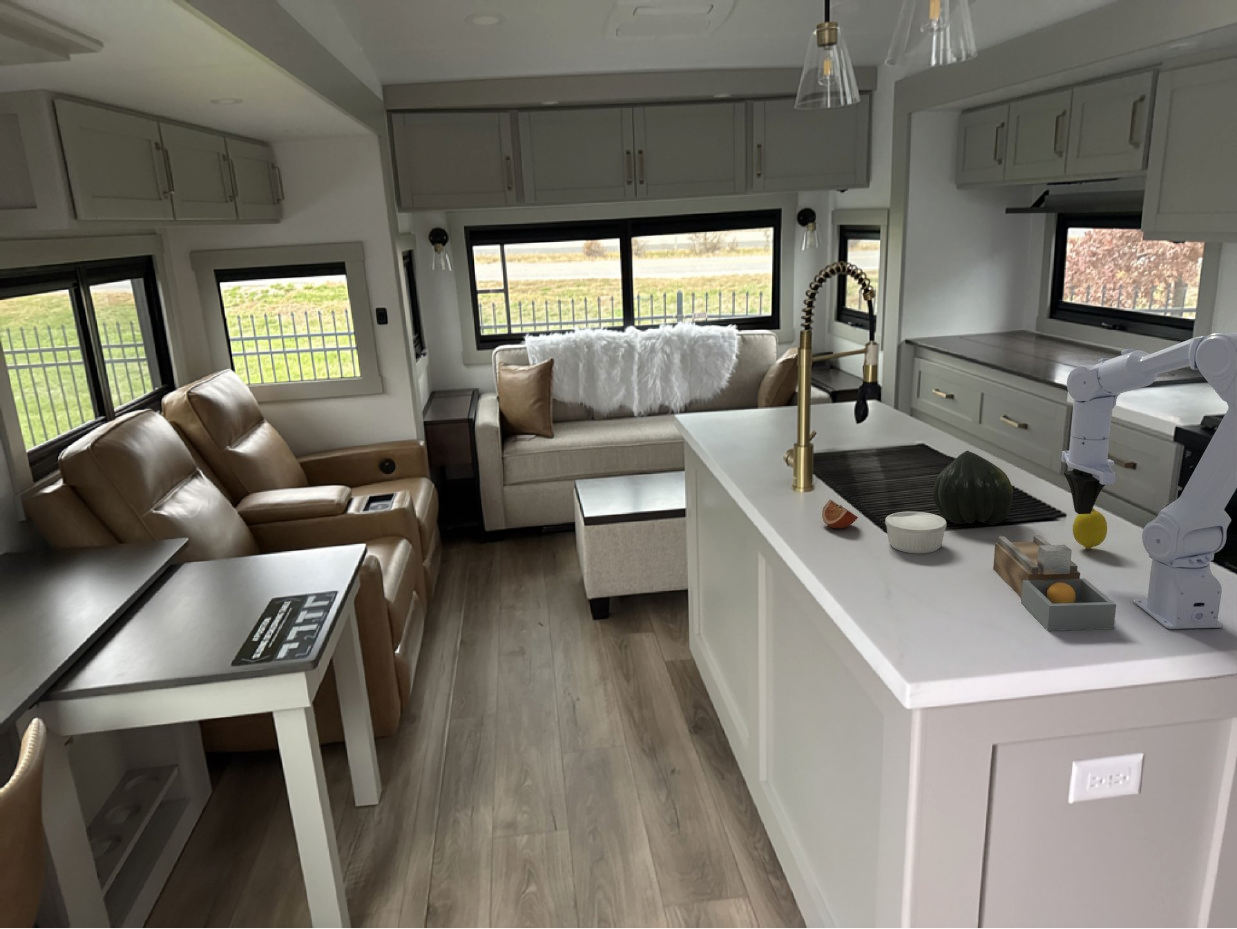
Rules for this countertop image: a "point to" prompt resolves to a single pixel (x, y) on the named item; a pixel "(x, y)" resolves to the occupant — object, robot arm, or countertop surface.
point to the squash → (973, 491)
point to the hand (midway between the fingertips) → (1082, 512)
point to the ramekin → (915, 531)
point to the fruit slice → (837, 515)
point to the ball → (1061, 593)
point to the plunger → (1054, 559)
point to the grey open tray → (1069, 606)
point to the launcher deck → (1023, 563)
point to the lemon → (1090, 529)
